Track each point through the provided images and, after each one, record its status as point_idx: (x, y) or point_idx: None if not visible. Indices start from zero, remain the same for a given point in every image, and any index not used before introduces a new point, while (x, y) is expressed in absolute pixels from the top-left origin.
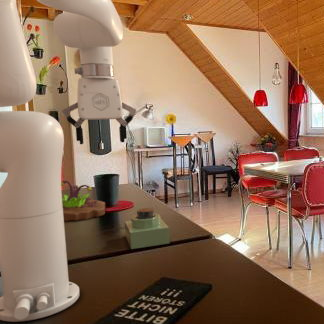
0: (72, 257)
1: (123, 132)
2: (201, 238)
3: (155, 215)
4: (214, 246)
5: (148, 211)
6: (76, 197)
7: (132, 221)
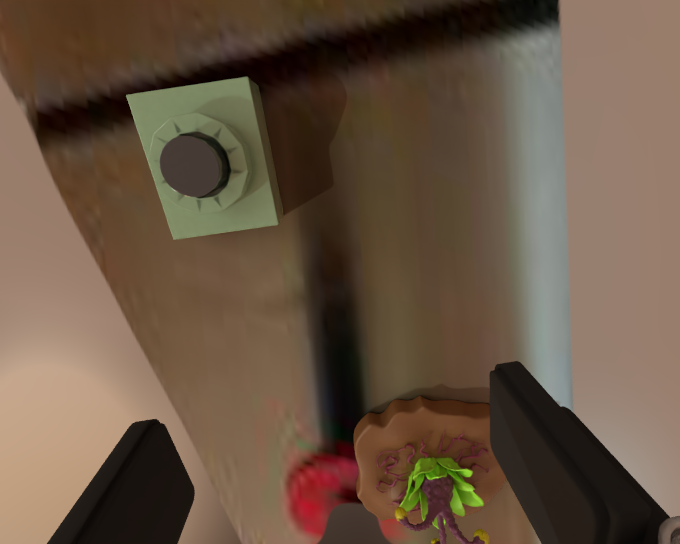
0: (407, 74)
1: (77, 507)
2: (60, 118)
3: None
4: (7, 16)
5: (174, 138)
6: (430, 490)
7: (242, 142)
